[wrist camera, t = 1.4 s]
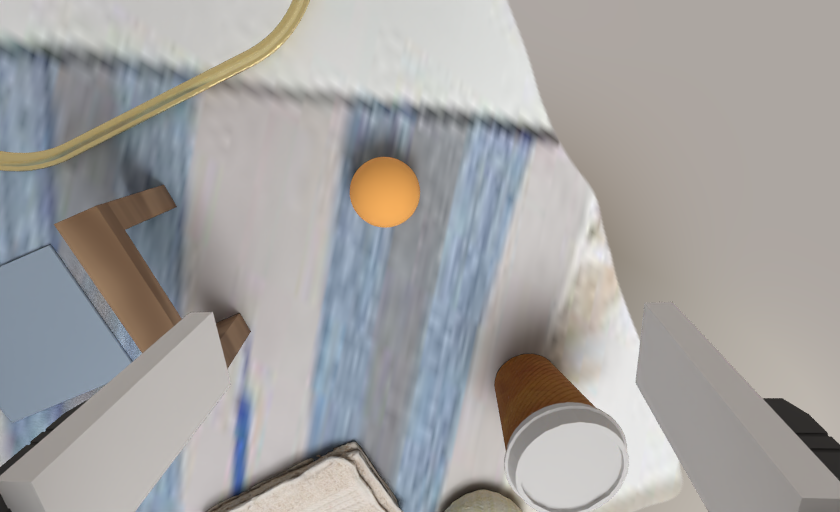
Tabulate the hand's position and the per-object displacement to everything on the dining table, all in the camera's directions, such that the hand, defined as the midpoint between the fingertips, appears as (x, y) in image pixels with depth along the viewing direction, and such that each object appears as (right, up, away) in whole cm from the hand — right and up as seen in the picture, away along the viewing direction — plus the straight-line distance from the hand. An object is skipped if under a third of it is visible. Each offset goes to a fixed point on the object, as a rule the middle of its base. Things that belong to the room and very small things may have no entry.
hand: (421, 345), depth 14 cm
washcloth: (-12, -24, +35) cm, 44 cm away
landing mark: (-34, -4, +27) cm, 44 cm away
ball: (-3, +8, +22) cm, 24 cm away
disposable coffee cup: (+10, -10, +32) cm, 35 cm away
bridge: (-20, +2, +26) cm, 32 cm away
